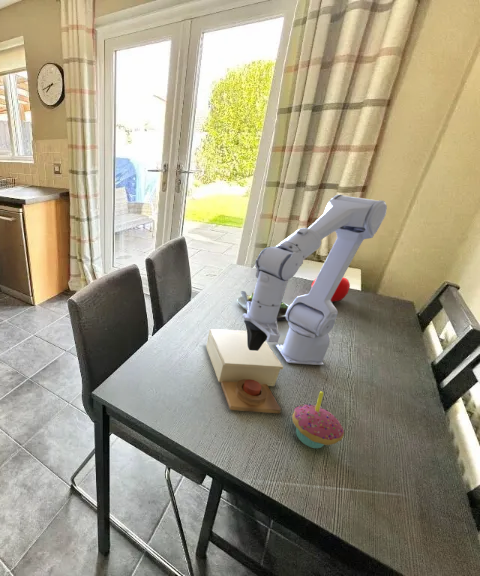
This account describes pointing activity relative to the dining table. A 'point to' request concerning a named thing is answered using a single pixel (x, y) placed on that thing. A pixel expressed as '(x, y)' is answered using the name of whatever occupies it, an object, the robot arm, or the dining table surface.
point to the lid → (242, 350)
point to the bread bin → (238, 369)
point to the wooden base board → (249, 398)
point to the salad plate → (248, 298)
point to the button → (252, 387)
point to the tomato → (340, 290)
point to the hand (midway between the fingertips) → (252, 348)
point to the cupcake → (316, 425)
